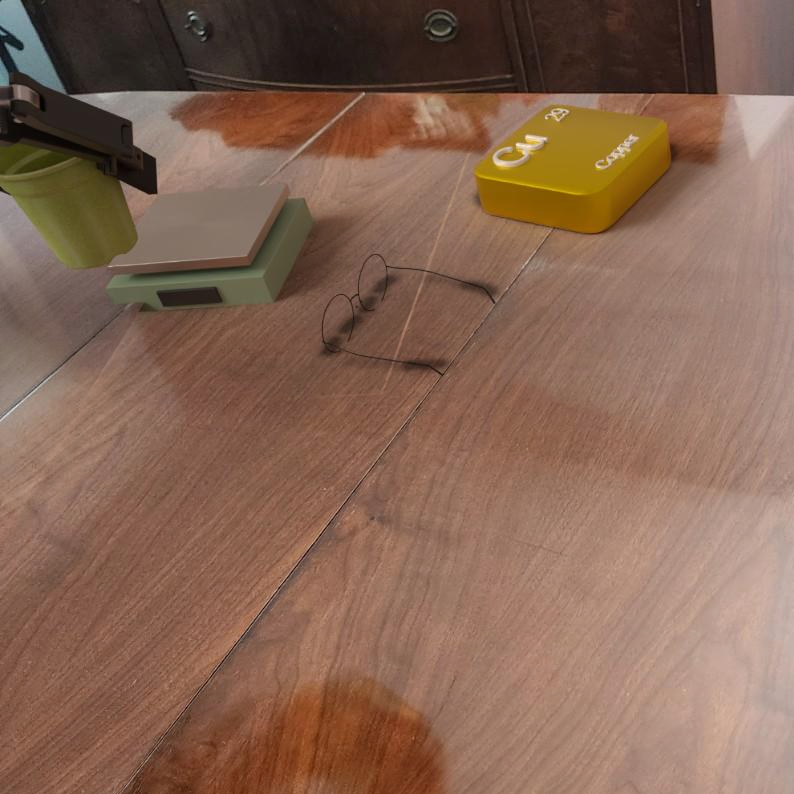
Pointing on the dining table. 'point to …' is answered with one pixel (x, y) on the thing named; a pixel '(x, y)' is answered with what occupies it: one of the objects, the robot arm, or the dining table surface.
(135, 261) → the weighing pan
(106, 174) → the robot arm
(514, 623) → the dining table surface
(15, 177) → the plant pot
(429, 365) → the eyeglasses
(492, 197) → the element tile
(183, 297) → the scale
